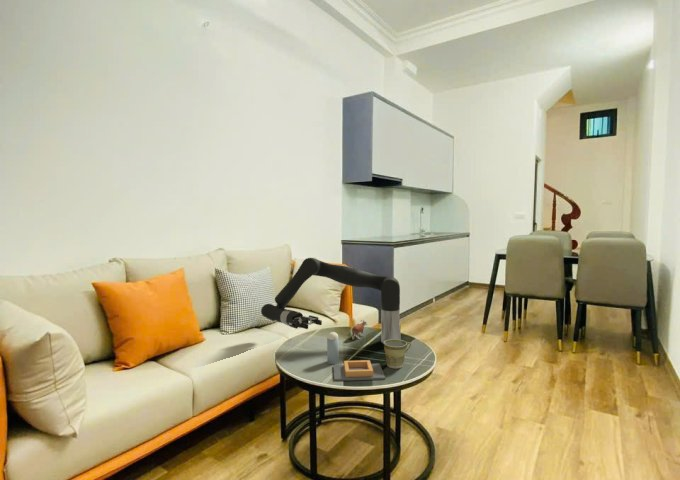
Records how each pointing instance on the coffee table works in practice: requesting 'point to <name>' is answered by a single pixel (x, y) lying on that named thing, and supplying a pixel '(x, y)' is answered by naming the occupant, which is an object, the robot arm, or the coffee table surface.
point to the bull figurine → (358, 329)
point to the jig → (358, 371)
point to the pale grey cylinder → (332, 348)
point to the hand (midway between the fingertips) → (314, 324)
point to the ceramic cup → (395, 352)
